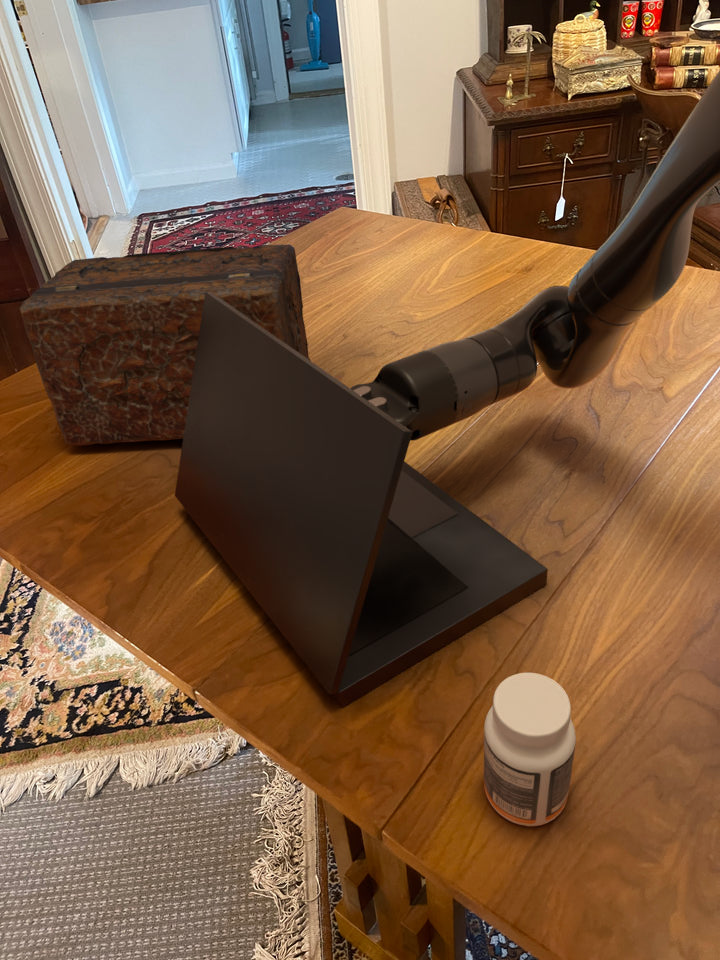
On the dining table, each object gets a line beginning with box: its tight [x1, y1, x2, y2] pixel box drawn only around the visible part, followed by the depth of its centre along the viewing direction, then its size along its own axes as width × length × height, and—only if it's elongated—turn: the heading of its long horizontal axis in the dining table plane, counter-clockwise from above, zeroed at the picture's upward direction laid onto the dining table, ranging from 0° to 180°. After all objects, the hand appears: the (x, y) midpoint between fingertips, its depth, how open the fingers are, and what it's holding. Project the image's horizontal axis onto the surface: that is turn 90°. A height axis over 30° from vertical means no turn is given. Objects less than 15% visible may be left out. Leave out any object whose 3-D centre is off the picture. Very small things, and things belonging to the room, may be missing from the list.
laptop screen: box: [174, 292, 412, 696], centre depth 63 cm, size 22×32×1 cm
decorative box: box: [19, 244, 311, 447], centre depth 91 cm, size 31×20×20 cm
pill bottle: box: [483, 672, 577, 827], centre depth 48 cm, size 6×6×10 cm
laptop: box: [330, 460, 549, 709], centre depth 72 cm, size 22×32×2 cm
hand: (275, 452), depth 63 cm, fingers closed
